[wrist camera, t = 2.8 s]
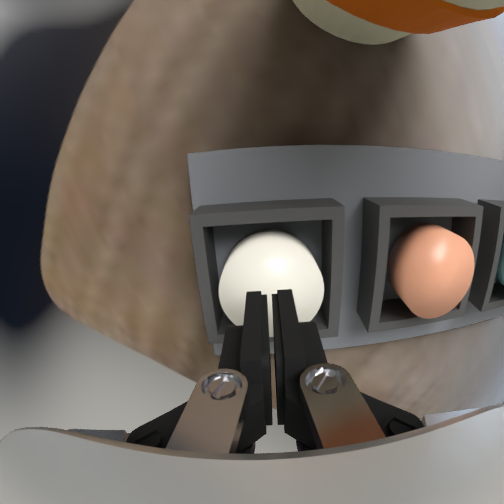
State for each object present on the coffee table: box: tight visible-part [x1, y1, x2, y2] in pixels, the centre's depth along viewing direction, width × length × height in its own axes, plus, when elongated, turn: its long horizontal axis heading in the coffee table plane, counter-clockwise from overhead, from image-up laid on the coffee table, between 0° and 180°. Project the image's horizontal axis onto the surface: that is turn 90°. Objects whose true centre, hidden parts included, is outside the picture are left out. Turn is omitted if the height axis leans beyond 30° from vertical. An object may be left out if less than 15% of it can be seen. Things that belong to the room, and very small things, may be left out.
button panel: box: [187, 145, 504, 355], centre depth 16 cm, size 26×13×4 cm, turn 94°
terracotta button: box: [387, 222, 475, 319], centre depth 14 cm, size 5×5×2 cm
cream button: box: [219, 229, 324, 337], centre depth 14 cm, size 5×5×2 cm
